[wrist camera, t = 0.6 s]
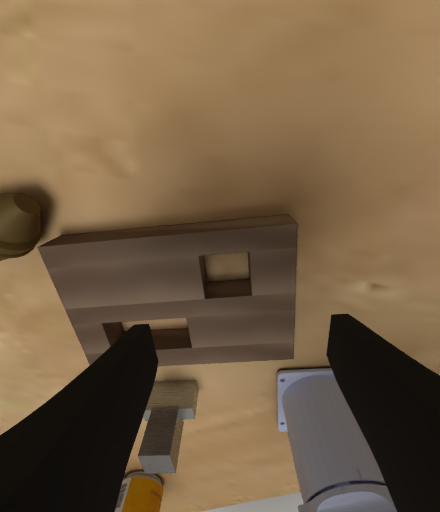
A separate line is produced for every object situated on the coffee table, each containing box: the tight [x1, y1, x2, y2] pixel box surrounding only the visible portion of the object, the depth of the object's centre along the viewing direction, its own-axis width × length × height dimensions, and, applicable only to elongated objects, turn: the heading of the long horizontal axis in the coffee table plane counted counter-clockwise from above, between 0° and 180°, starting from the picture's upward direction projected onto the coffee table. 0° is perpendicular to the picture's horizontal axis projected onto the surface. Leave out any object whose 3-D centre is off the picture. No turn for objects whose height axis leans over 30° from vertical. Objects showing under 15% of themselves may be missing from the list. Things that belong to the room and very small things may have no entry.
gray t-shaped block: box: [138, 380, 198, 474], centre depth 22 cm, size 3×5×7 cm, turn 96°
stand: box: [38, 214, 298, 366], centre depth 19 cm, size 12×18×2 cm, turn 96°
